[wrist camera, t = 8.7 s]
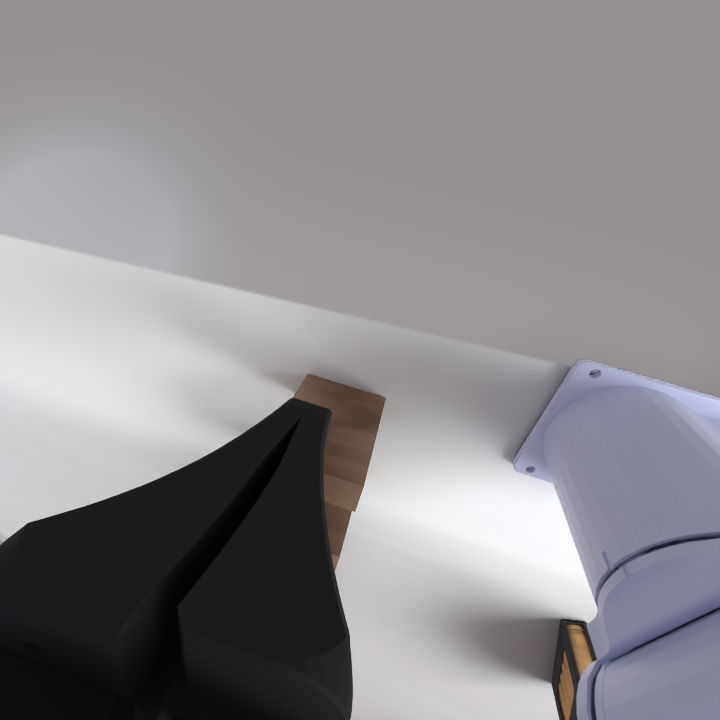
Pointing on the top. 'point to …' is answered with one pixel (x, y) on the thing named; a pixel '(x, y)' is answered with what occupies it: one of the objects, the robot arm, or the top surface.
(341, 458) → the walnut domino
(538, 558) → the top surface
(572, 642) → the ammunition clip
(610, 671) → the robot arm
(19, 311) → the top surface
